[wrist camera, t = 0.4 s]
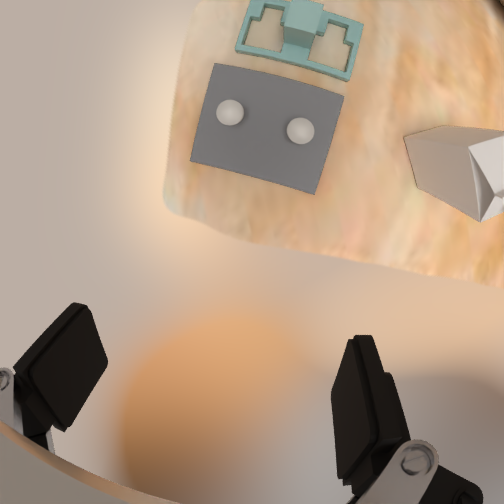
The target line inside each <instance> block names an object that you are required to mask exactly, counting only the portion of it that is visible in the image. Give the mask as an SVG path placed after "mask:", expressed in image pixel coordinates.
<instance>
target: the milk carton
mask: <svg viewBox="0 0 504 504" xmlns="http://www.w3.org/2000/svg"><path fill="white" fill-rule="evenodd" d="M404 141H405V144H406V147H407V151H408V154H409V157H410V161H411V164H412V168H413V172H414V176H415V180H416V184H417V187H418V188H419V189H421V190H423V191H425V192H427V193H429V194H431V195H433V196H435V197H436V198H438V199H440V200H442V201H444V202H446V203H447V204H449V205H451V206H453V207H455V208H456V209H458V210H460V211H461V212H463V213H465V214H467V215H468V216H470V217H472V218H473V219H475V220H477V221H478V222H483V221H485V220H487V219H489V218H492V217H494V216H496V215H498V214H500V213H502V212H504V131H499V130H491V129H481V128H471V127H458V126H440V127H436V128H433V129H429V130H426V131H422V132H419V133H416V134H412V135H409V136H406V137H404Z"/></svg>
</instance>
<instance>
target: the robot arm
mask: <svg viewBox="0 0 504 504" xmlns="http://www.w3.org/2000/svg"><path fill="white" fill-rule="evenodd" d="M107 365H108V359H107V356H106V353H105V351H104V348H103V345H102V343H101V340H100V337H99V334H98V331H97V328H96V325H95V322H94V319H93V316H92V313H91V311H90V310H89V309H88V306H87V305H84V304H80V303H72V304H71V305H70V306H69V307H67V308H66V310H65V311H64V312H63V313H62V314H61V315H60V316H59V317H58V318H57V319H56V320H55V321H54V322H53V323H52V324H51V325H50V326H49V327H48V328H47V329H46V330H45V331H44V332H43V334H42V335H41V336H40V337H39V338H38V339H37V340H36V341H35V342H34V343H33V344H32V346H31V347H30V348H29V349H28V350H27V351H26V352H25V353H24V355H23V356H22V357H21V358H20V359H19V360H18V362H17V363H16V364H15V365H14V366H13V369H14V370H15V372H16V373H15V375H14V374H13V373H12V371H11V370H10V369H8V368H0V504H181V503H177V502H173V501H169V500H165V499H162V498H158V497H155V496H151V495H148V494H145V493H142V492H139V491H136V490H133V489H130V488H127V487H125V486H122V485H119V484H117V483H114V482H112V481H109V480H106V479H104V478H102V477H100V476H97V475H95V474H93V473H90V472H88V471H86V470H84V469H82V468H80V467H78V466H76V465H74V464H72V463H70V462H68V461H66V460H64V459H62V458H60V457H58V456H57V455H55V450H54V445H53V441H52V435H51V429H50V428H51V426H52V425H53V426H54V427H55V428H57V429H59V430H61V431H63V432H65V431H66V429H67V427H70V426H71V425H72V423H73V422H74V420H75V418H76V417H77V415H78V413H79V412H80V410H81V408H82V407H83V405H84V403H85V402H86V400H87V398H88V396H89V395H90V393H91V391H92V390H93V388H94V387H95V385H96V384H97V382H98V380H99V379H100V377H101V375H102V374H103V372H104V371H105V369H106V368H107ZM331 403H332V414H333V425H334V436H335V449H336V463H337V476H338V479H343V486H345V485H352V493H353V494H354V495H353V497H352V498H351V499H350V500H349V501H348V502H347V504H483V494H482V491H481V489H480V488H479V487H478V486H477V485H476V484H474V483H472V482H470V481H468V480H466V479H464V478H462V477H460V476H458V475H456V474H455V473H453V472H451V471H449V470H447V469H446V468H444V467H442V466H440V465H438V463H439V457H438V454H437V451H436V449H435V448H434V447H433V446H432V445H431V444H429V443H428V442H426V441H423V440H411V439H410V434H409V430H408V427H407V423H406V419H405V416H404V412H403V409H402V406H401V402H400V399H399V396H398V393H397V389H396V386H395V383H394V380H393V377H392V375H391V374H390V373H387V372H384V370H383V366H382V363H381V360H380V357H379V354H378V351H377V348H376V345H375V342H374V339H373V337H372V336H371V335H355V336H354V338H353V339H349V340H348V342H347V346H346V349H345V352H344V355H343V358H342V361H341V364H340V368H339V370H338V373H337V376H336V379H335V382H334V385H333V388H332V391H331Z"/></svg>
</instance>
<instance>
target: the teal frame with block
mask: <svg viewBox="0 0 504 504" xmlns="http://www.w3.org/2000/svg"><path fill="white" fill-rule="evenodd" d="M323 6H324V5H323V4H319V3H316V2H312V1H308V0H292V1H291V2H289V1H284V0H251V1H250V4H249V7H248V10H247V13H246V16H245V19H244V22H243V25H242V28H241V31H240V34H239V37H238V40H237V43H236V46H235V51H236V52H238V53H243V54H249V55H254V56H259V57H263V58H268V59H272V60H276V61H281V62H285V63H288V64H292V65H296V66H299V67H303V68H306V69H310V70H313V71H316V72H320V73H323V74H326V75H329V76H332V77H335V78H338V79H340V80H343V81H346V82H348V81H349V80H350V77H351V73H352V69H353V65H354V61H355V58H356V54H357V50H358V46H359V42H360V38H361V34H362V30H363V26H364V24H362V23H359V22H356V21H354V20H351V19H348V18H345V17H342V16H339V15H336V14H333V13H330V12H327V11H324V10H323ZM265 7H268V8H273V9H278V10H283V11H284V12H283V16H282V19H281V25H282V26H284V44H283V47H282V50H281V53H279V52H275V51H271V50H266V49H262V48H257V47H251V46H246V45H244V42H245V39H246V36H247V33H248V30H249V27H250V24H251V21H252V20H257V21H261V18H262V15H263V12H264V9H265ZM327 23H331V24H334V25H337V26H340V27H343V28H346V29H347V31H346V35H345V39H344V42H343V43H344V44H347V45H350V46H352V47H351V50H350V54H349V58H348V62H347V65H346V69H345V72H343V71H340V70H337V69H335V68H332V67H329V66H326V65H322V64H319V63H316V62H313V61H309V60H307V59H308V56H309V52H310V49H311V46H312V43H313V40H314V37H315V34H316V35H320V36H324V34H325V30H326V27H327Z"/></svg>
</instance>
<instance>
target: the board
mask: <svg viewBox="0 0 504 504" xmlns="http://www.w3.org/2000/svg"><path fill="white" fill-rule="evenodd" d="M343 100H344V96H342V95H339V94H337V93H334V92H331V91H328V90H325V89H322V88H319V87H316V86H312V85H309V84H306V83H302V82H299V81H295V80H292V79H288V78H284V77H280V76H276V75H272V74H268V73H264V72H259V71H255V70H250V69H245V68H240V67H235V66H229V65H223V64H217V63H215V64H214V67H213V70H212V74H211V77H210V81H209V85H208V88H207V92H206V96H205V99H204V103H203V107H202V111H201V115H200V119H199V123H198V127H197V131H196V136H195V140H194V144H193V149H192V153H191V158H190V161H191V162H196V163H200V164H204V165H208V166H213V167H217V168H221V169H225V170H229V171H233V172H236V173H240V174H244V175H248V176H252V177H255V178H259V179H263V180H266V181H270V182H273V183H277V184H280V185H284V186H287V187H290V188H294V189H297V190H300V191H303V192H307V193H310V194H313V195H315V192H316V188H317V185H318V182H319V179H320V176H321V173H322V170H323V167H324V163H325V160H326V157H327V154H328V151H329V147H330V144H331V141H332V137H333V134H334V131H335V127H336V124H337V121H338V117H339V114H340V110H341V107H342V103H343Z"/></svg>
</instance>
